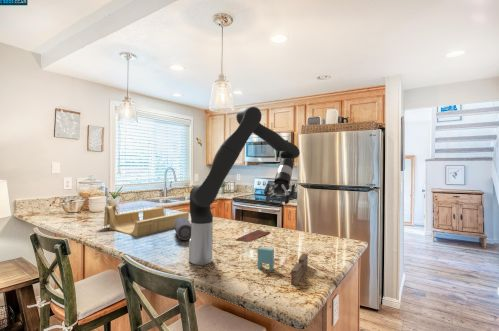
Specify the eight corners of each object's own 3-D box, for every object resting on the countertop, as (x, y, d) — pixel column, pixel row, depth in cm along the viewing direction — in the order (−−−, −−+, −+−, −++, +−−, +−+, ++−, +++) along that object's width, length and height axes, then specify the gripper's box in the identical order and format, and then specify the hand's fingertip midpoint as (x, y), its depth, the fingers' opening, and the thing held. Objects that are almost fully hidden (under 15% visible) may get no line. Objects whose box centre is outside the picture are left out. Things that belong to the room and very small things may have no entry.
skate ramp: (137, 239, 153) (137, 211, 152) (104, 228, 172) (104, 203, 172) (188, 226, 186) (189, 203, 186) (155, 218, 206) (156, 197, 205)
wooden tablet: (257, 231, 171) (257, 228, 171) (271, 233, 165) (271, 231, 166) (232, 240, 149) (232, 237, 149) (247, 243, 143) (247, 240, 143)
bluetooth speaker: (194, 241, 144) (194, 223, 144) (176, 243, 141) (176, 224, 141) (189, 231, 166) (189, 215, 166) (173, 232, 163) (174, 216, 163)
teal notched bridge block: (257, 268, 108) (258, 248, 108) (259, 266, 110) (260, 247, 110) (271, 270, 105) (272, 250, 105) (273, 268, 108) (273, 249, 108)
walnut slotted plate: (291, 284, 94) (291, 270, 94) (302, 265, 112) (302, 253, 112) (297, 285, 93) (297, 271, 93) (307, 265, 111) (307, 253, 111)
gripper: (268, 171, 131) (259, 197, 120) (296, 171, 125) (290, 198, 115) (271, 181, 136) (263, 206, 125) (299, 181, 130) (293, 208, 120)
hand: (276, 202), depth 120 cm, fingers open, 8 cm apart
